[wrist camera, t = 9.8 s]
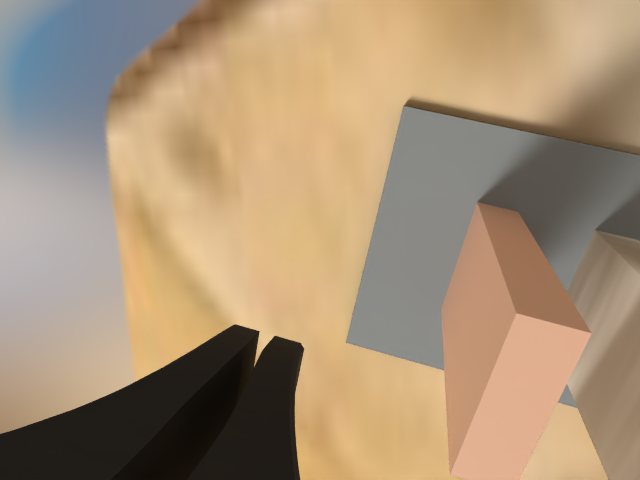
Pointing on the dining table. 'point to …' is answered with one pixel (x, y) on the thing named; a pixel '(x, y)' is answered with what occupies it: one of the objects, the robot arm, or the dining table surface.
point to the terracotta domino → (504, 347)
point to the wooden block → (610, 351)
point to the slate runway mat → (457, 210)
